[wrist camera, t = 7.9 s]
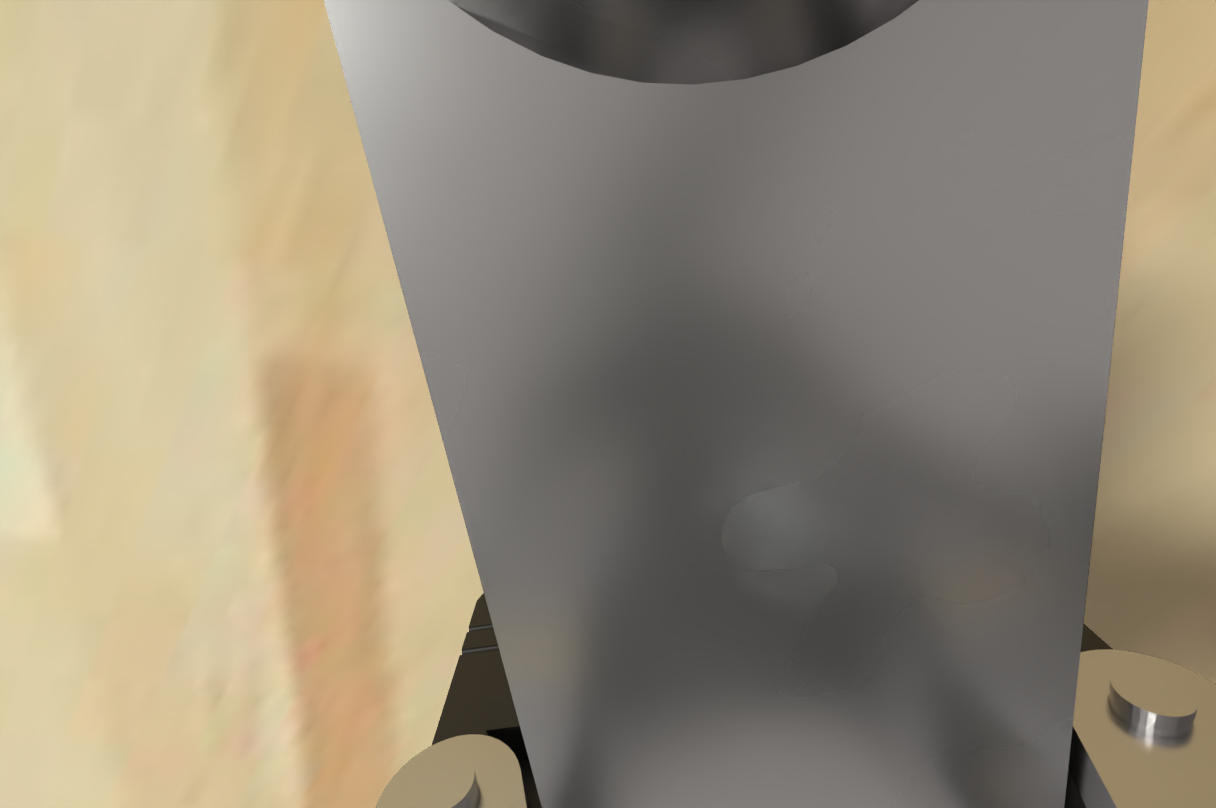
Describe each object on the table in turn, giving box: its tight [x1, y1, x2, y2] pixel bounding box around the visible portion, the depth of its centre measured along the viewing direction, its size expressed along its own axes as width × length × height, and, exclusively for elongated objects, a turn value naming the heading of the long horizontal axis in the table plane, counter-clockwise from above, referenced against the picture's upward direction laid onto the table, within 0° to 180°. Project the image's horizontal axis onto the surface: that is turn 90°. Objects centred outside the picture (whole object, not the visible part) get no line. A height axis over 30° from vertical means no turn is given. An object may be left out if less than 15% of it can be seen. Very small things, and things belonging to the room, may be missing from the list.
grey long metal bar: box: [324, 0, 1148, 808], centre depth 7 cm, size 4×20×5 cm, turn 9°
